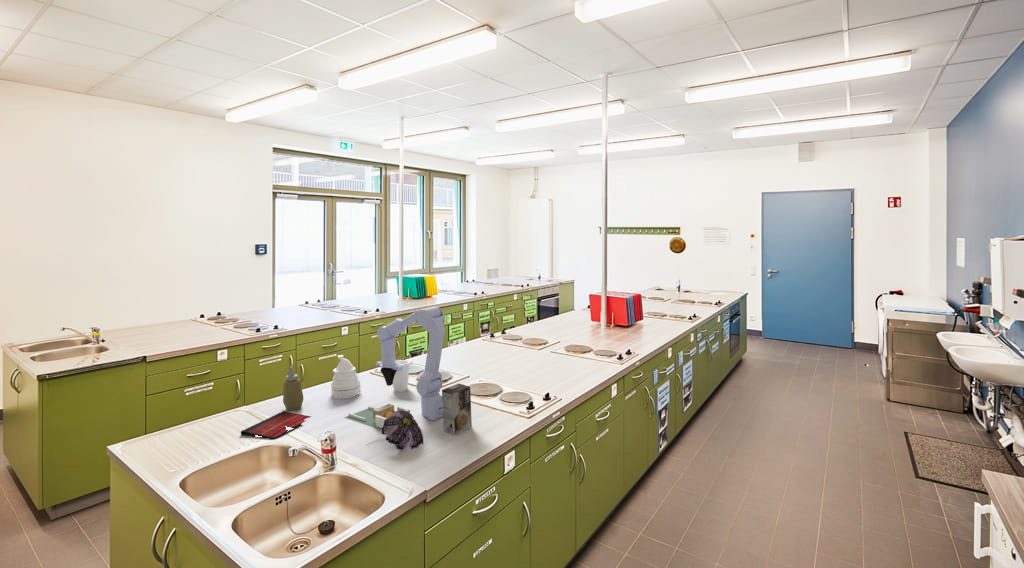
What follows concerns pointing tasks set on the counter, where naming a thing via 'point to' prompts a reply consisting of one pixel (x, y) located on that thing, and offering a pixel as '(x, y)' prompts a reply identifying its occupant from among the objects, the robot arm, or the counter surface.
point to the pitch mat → (364, 417)
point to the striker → (383, 411)
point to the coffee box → (456, 409)
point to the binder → (276, 425)
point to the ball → (388, 414)
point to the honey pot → (345, 380)
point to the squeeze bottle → (292, 391)
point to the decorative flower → (402, 430)
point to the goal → (380, 420)
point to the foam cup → (401, 376)
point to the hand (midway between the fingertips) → (389, 384)
